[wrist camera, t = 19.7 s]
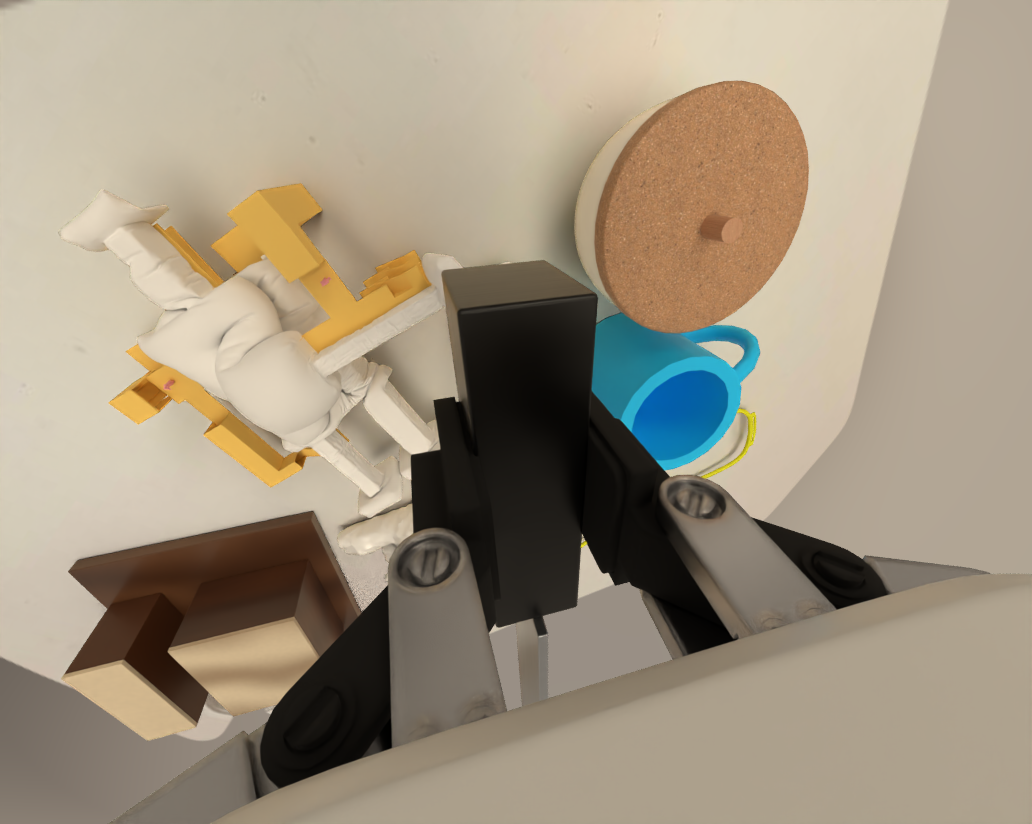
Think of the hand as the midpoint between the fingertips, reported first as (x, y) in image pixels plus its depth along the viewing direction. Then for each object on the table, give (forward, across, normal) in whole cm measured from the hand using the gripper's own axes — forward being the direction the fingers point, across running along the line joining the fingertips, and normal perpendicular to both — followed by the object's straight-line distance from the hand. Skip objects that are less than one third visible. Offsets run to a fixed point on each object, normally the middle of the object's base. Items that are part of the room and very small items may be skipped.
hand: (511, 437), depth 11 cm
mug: (+17, -14, +7) cm, 23 cm away
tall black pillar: (+1, 0, +7) cm, 7 cm away
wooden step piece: (+16, +26, +26) cm, 40 cm away
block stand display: (+17, +20, +24) cm, 36 cm away
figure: (+17, +8, +3) cm, 19 cm away
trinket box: (+17, -12, -3) cm, 21 cm away
